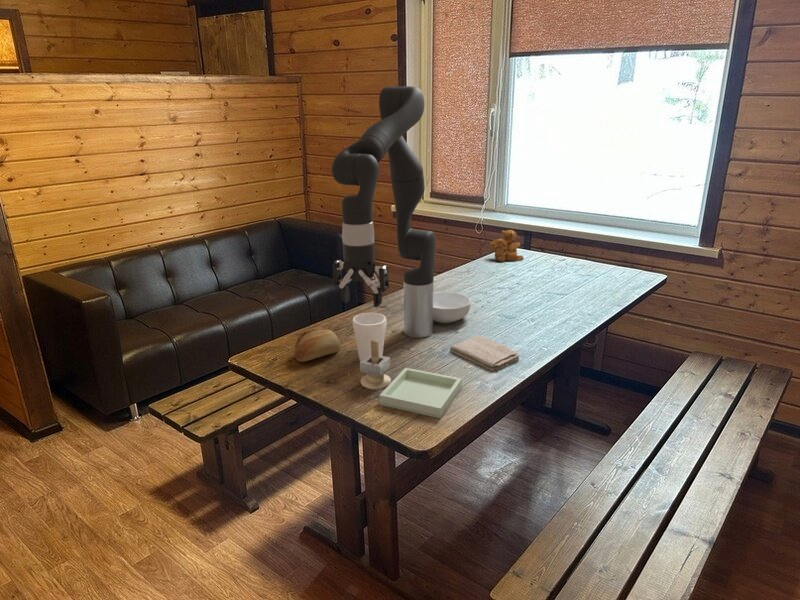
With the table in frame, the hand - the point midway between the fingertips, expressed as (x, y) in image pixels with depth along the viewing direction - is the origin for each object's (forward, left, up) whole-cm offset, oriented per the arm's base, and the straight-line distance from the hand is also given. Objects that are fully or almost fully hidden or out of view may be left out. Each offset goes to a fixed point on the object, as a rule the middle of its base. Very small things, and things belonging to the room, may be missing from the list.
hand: (361, 303), depth 143 cm
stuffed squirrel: (-130, +5, -24) cm, 132 cm away
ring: (-4, +1, -20) cm, 20 cm away
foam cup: (-15, -6, -24) cm, 29 cm away
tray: (-2, +15, -24) cm, 28 cm away
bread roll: (-12, -22, -24) cm, 35 cm away
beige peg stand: (-4, +1, -24) cm, 24 cm away
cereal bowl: (-53, +3, -24) cm, 59 cm away
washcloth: (-31, +23, -25) cm, 46 cm away
